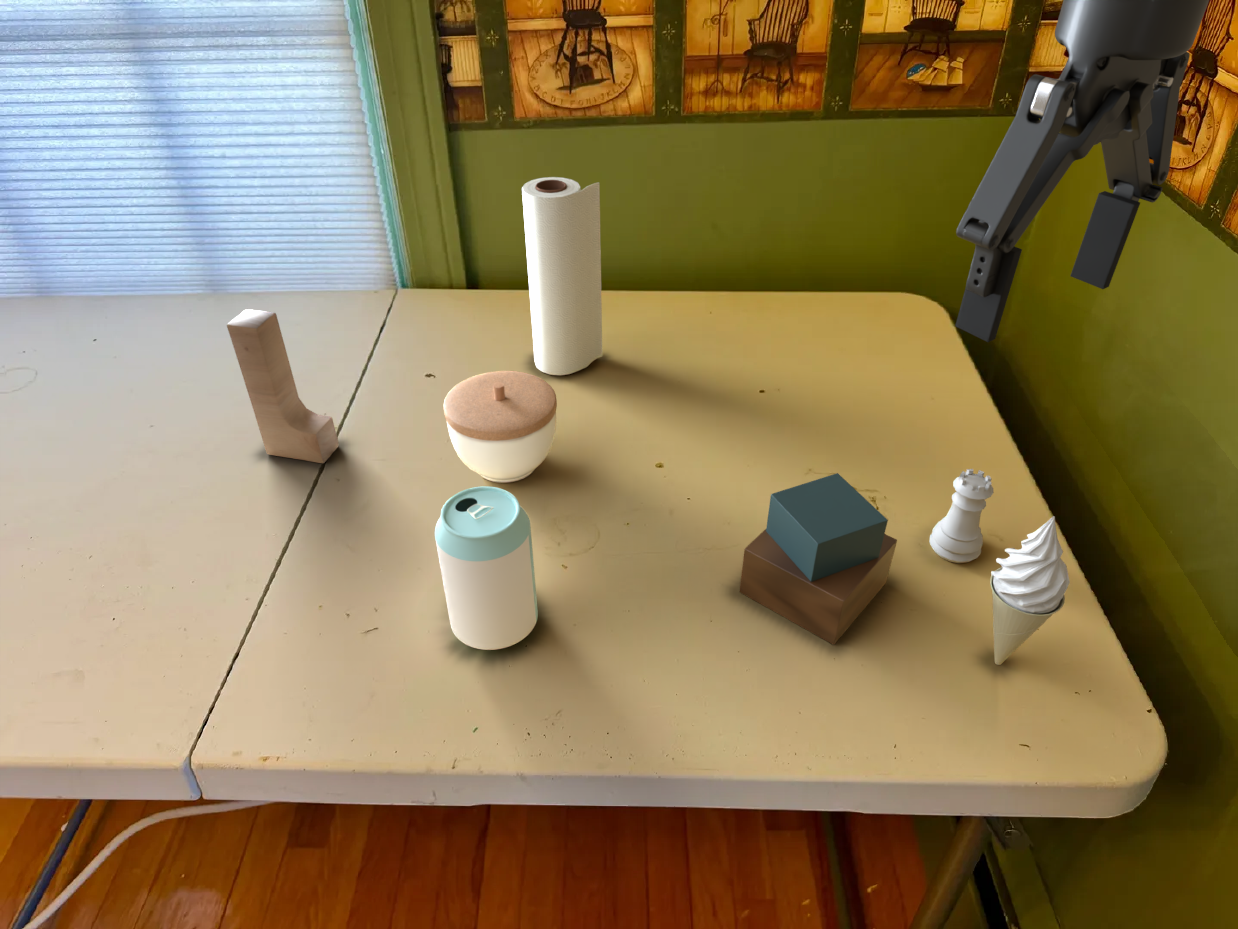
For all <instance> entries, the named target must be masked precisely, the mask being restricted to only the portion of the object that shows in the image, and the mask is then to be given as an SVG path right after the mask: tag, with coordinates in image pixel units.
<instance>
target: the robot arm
mask: <svg viewBox="0 0 1238 929" xmlns="http://www.w3.org/2000/svg"><path fill="white" fill-rule="evenodd" d="M1209 2H1210V0H1063V1H1062V4H1061V8H1060V10H1059V15H1058V19H1057V22H1056V25H1055V29H1054V37H1055V40H1056V41H1057V42H1058V44H1060V45H1061V46H1063V47H1065V48H1066V50H1067V52H1068V59H1067V61H1066V64H1065V65H1064V67H1063V70H1062V72H1061V74H1060V75H1059V77H1058V78H1052V77H1048V76H1044V75H1040V74H1035V73H1034V74H1032V75H1031V76H1030V77H1029V79H1028V80H1027V82H1026V85H1025V86H1024V90H1023V92H1022V96H1021V99H1020V102H1019V105H1018V108H1017V111H1016V114H1015V117H1014V118H1013V120H1012V122H1011V124H1010V126H1009V128H1008V130H1007V131H1006V132H1005V135H1004V138H1003V139H1002V141H1001V143H1000V145H999V147H998V148H997V150H996V153H995V154H994V156H993V159H992V160H991V162H990V164H989V166H988V168H987V169H986V172H985V174H984V176H983V177H982V180H981V182H980V183H979V185H978V187H977V189H976V190H975V193H974V195H973V196H972V198H971V200H970V202H969V204H968V206H967V208H966V209H965V212H964V213H963V216H962V218H961V220H960V221H959V223H958V226H957V228H956V230H955V234H956V236H957V238H960V239H962V240H964V241H967V242H970V243H972V244H974V245H975V249H974V253H973V257H972V261H971V264H970V267H969V268H970V269H969V271H968V275H967V279H966V284H965V289H964V292H963V296H962V300H961V304H960V307H959V311H958V315H957V318H956V322H955V327H956V328H958V329H960V330H962V331H963V332H966V333H968V334H970V335H972V336H974V337H976V338H979V339H981V340H983V341H985V342H987V343H990V342H992V341H994V340H996V337H997V334H998V331H999V327H1000V324H1001V321H1002V317H1003V314H1004V311H1005V307H1006V305H1007V300H1008V298H1009V295H1010V291H1011V288H1012V284H1013V282H1014V277H1015V276H1016V271H1017V269H1018V264H1019V261H1020V259H1021V254H1022V251H1023V249H1022V248H1020V247H1017V246H1016V245H1017V243H1018V241H1019V240H1020V239H1021V237H1022V236H1023V234H1024V233H1025V232H1026V230H1027V229H1028V227H1029V226H1030V225H1031V223H1032V222H1033V220H1034V218H1035V217H1036V216H1037V214H1038V213H1039V211H1040V210H1041V209H1042V207H1043V206H1044V204H1045V203H1046V202H1047V200H1048V199H1049V197H1050V196H1051V195H1052V194H1053V191H1054V190H1055V189H1056V188H1057V186H1058V184H1060V181H1061V180H1062V178H1064V176H1065V174H1066V173H1067V171H1068V170H1069V168H1070V167H1071V165H1072V164H1073V163H1074V162H1076V161H1078V160H1081V159H1084V158H1086V156H1088V154H1089V153H1090V151H1092V149H1093V147H1094V146H1097V145H1098V144H1101V149H1102V155H1103V161H1104V167H1105V171H1106V173H1105V174H1106V178H1107V183H1108V188H1109V190H1112V191H1113V192H1109V191H1106V190H1104V191H1101V192H1099V193H1098V194H1097V198H1096V200H1095V202H1094V203H1095V204H1094V207H1093V208H1092V212H1091V215H1090V218H1089V221H1088V224H1087V226H1086V229H1085V232H1084V235H1083V238H1082V241H1081V244H1080V247H1079V250H1078V252H1077V256H1076V258H1075V261H1074V264H1073V267H1072V270H1071V273H1070V277H1071V278H1074V279H1076V280H1079V281H1082V282H1084V283H1085V284H1088V285H1091V286H1094V287H1096V288H1098V289H1101V290H1105V289H1107V288H1109V287H1110V285H1111V283H1112V280H1113V277H1114V275H1115V272H1116V269H1117V266H1118V263H1119V261H1120V259H1121V255H1122V253H1123V251H1124V248H1125V245H1126V242H1127V240H1128V237H1129V235H1130V232H1131V229H1132V226H1133V224H1134V222H1135V219H1136V216H1137V213H1138V210H1139V208H1140V205H1141V202H1140V200H1142V201H1146V202H1149V203H1151V204H1153V203H1155V202H1157V200H1158V199H1159V198H1160V196H1161V194H1162V192H1163V187H1162V186H1160V185H1163V183H1165V181H1166V180H1167V179H1168V176H1169V173H1170V166H1171V158H1172V151H1173V145H1174V144H1173V143H1174V136H1175V128H1176V120H1177V113H1178V105H1179V98H1180V90H1181V86H1182V82H1183V79H1184V77H1185V73H1186V70H1187V67H1188V64H1189V61H1190V57H1191V56H1190V52H1188V51H1190V50H1191V48H1192V47H1193V45H1194V43H1195V40H1196V37H1197V34H1198V32H1199V29H1200V26H1201V23H1202V20H1203V18H1204V16H1205V12H1206V10H1207V7H1208V5H1209ZM1150 160H1152V161H1153V163H1152V162H1150Z"/></svg>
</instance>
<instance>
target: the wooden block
mask: <svg viewBox="0 0 1238 929" xmlns="http://www.w3.org/2000/svg"><path fill="white" fill-rule="evenodd" d="M226 328H227V331H228V334H229V337H230V341H231V343H232V347H233V349H234V353H235V356H236V359H237V362H238V365H239V369H240V372H241V375H242V379H243V381H244V384H245V387H246V392H247V394H248V397H249V401H250V404H251V407H252V411H253V413H254V418H255V420H256V423H257V426H258V430H259V433H260V436H261V439H262V443H263V446H264V449H265V453H266V454H267V455H270V456H277V457H281V458H282V457H283V458H289V459H295V460H300V461H307V462H312V463H318V464H325V462H327V461H328V459H329V458H330V457H331V456H332V454H333V453H334V452H335V451H336V450H337V449H338V448H339V446H340V443H339V440H338V435H337V432H336V427H335V423H334V419H333V417H332V416H329V415H323V414H319V413H316V412H314V411H313V410H311V409H308V408H307V407H306V405H305V404H304V403H303V401H302V399H301V398H300V397H299V393H298V390H297V385H296V381H295V379H294V374H293V371H292V367H291V363H290V360H289V356H288V352H287V349H286V345H285V341H284V338H283V333H282V331H281V330H282V329H281V327H280V323H279V320H278V316H277V313H276V312H275V311H274V312H273V311H266V310H258V309H249V308H246V309H244V310H243V311H241V312H240V313H239V314H238V315H236V316H235V317H233V319H231V320H230V321H229V322H227V323H226Z"/></svg>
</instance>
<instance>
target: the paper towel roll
mask: <svg viewBox="0 0 1238 929" xmlns="http://www.w3.org/2000/svg"><path fill="white" fill-rule="evenodd" d="M600 194H601V192H600V182H599V181H598V182H594V183H592V184H589V185H587V186H585V187H584V188H582V189H581V185H580V184H579V182H578V181H576V180H574V179H571V178H568V177H567V178H566V177H558V176H549V177H548V176H547V177H539V178H534V179H531V180H528V181H527V182H526V183H524V184H523V186H521V195H522V206H523V207H522V209H523V222H524V234H525V235H524V237H525V250H526V265H527V276H528V278H527V279H528V291H529V303H530V304H529V305H530V319H531V329H532V330H531V332H532V345H533V346H532V347H533V360H534V364H535V367H536V369H538V370H539V371H540V372H542V373H544V374H547V375H552V376H565V375H570V374H573V373H577V372H579V371H581V370H583V369H586V368H587V367H589V365H590V364H591V363H593V362H594V361H595V360H598V359H599V358H602V357H603V356H604V355H603V354H604V353H603V306H602V305H603V303H602V302H603V301H602V254H601V253H602V252H601V250H602V247H601V245H602V244H601V197H600V196H601V195H600Z"/></svg>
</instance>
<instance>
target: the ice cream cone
mask: <svg viewBox="0 0 1238 929" xmlns="http://www.w3.org/2000/svg"><path fill="white" fill-rule="evenodd" d="M1026 537H1027V538H1025V539H1023V540H1021V542H1020V543H1021V548H1020V549H1016V548H1015V547H1007V548H1005V549H1004V552H1006V554H1009V556H1008V557H1007V558H1000V557H997V558H996V559H995V562H996V563H997V564H998V565H1000V566H1001V567H999V568H997V569H995V570H991V572H990V574H991V576H990V579H989V582H990V588H991V592H992V593H991V594H992V596H991V597H992V629H993V653H994V654H993V656H994V659H993V660H994V663H995V665H997V666H1000V665H1002V664H1003V663H1004V662H1005V661H1006V660H1007V659H1009V657H1010V656H1011V655H1012V654H1013V653H1015V652H1016V650H1018V649H1019V648H1020V647H1021V646H1022V645H1023V644H1024V643H1025V642H1026V641H1027V640H1028V639H1029V638H1030V637H1031V636H1032V635H1033V634H1034V633H1035V632H1037V630H1038V629H1040V628H1041V627H1042V626H1043V625H1044V624H1045V623H1046V622H1047V620H1049V619H1050V618H1051V617H1052V616H1053V615H1054V614H1056V613H1058V612H1059V611H1060V610H1061V609H1062V608H1063V607H1064V606H1065V603H1066V595H1065V594H1066V592H1067V589H1068V587H1069V585H1070V584H1071V583H1070V582H1071V580H1070V577H1069V571H1068V567H1067V564H1066V563H1065V561H1064V560H1063V559H1062V558H1061V557H1062V556H1063V554H1064V551H1063V550H1064V549H1063V547H1062V546H1061V543H1060V541H1059V539H1058V533H1057V527H1056V516H1054V515H1053V516H1051V518H1049V519H1048V520H1047V521H1046V522H1045V523H1044V524H1042V525H1041V526H1040V527H1039V528H1038V529H1036V530H1035V531H1033V532H1030V533H1028V534H1026Z"/></svg>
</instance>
